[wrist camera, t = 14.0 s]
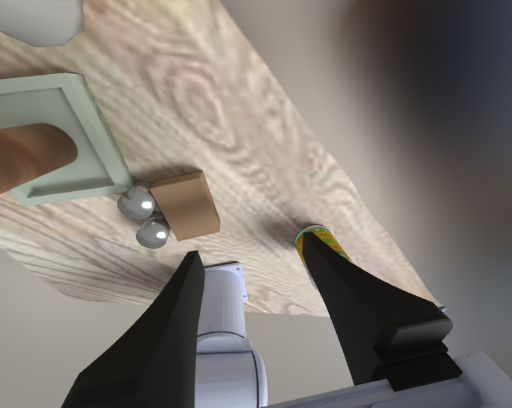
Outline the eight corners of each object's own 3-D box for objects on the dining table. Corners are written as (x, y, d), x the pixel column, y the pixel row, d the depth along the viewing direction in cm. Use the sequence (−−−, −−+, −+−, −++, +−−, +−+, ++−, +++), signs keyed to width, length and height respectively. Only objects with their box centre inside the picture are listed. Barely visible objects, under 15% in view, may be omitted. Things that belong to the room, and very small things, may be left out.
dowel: (86, 161, 17) (-6, 204, 10) (46, 167, 17) (-73, 215, 10) (60, 119, 15) (-72, 139, 9) (15, 126, 15) (-155, 152, 8)
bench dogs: (176, 229, 23) (170, 246, 21) (152, 233, 23) (143, 250, 20) (155, 178, 20) (144, 191, 17) (126, 182, 19) (111, 195, 17)
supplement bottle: (329, 219, 26) (377, 278, 18) (329, 246, 29) (371, 308, 20) (292, 229, 26) (322, 292, 18) (296, 255, 29) (324, 320, 20)
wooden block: (220, 219, 24) (219, 231, 22) (182, 228, 24) (178, 241, 22) (202, 169, 20) (199, 178, 18) (157, 178, 20) (149, 188, 18)
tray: (135, 184, 20) (127, 191, 18) (40, 197, 19) (23, 206, 18) (82, 75, 15) (65, 72, 13) (-49, 88, 14) (-83, 87, 13)
